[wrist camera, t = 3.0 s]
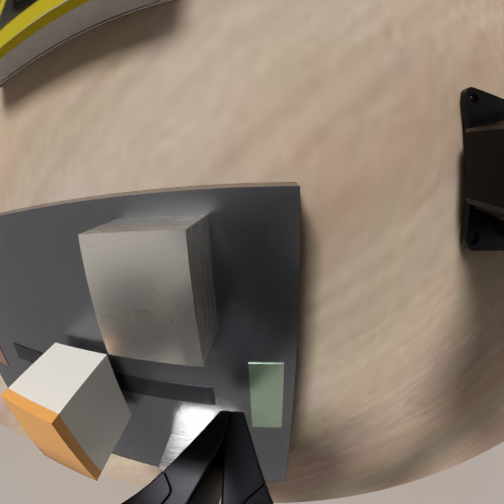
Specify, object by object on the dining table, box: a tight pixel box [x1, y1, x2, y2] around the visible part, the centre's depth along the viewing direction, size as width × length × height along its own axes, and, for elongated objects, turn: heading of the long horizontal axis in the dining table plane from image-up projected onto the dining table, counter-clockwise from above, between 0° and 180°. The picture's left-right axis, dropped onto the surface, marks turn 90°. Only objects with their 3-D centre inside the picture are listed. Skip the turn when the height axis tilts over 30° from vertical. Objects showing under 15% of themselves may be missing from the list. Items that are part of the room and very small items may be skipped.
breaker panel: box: [0, 182, 300, 502], centre depth 10 cm, size 20×15×4 cm
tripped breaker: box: [1, 343, 132, 481], centre depth 8 cm, size 3×4×4 cm
